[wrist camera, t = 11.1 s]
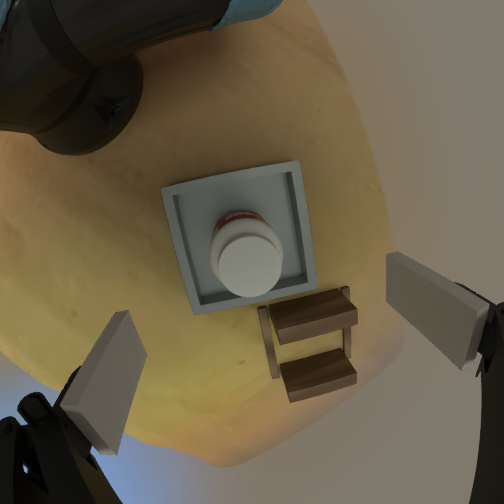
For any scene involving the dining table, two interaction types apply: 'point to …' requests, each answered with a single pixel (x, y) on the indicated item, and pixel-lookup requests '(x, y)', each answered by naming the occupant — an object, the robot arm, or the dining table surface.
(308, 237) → the tray
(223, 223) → the pill bottle
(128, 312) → the robot arm
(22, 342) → the dining table surface
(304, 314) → the wooden open frame
